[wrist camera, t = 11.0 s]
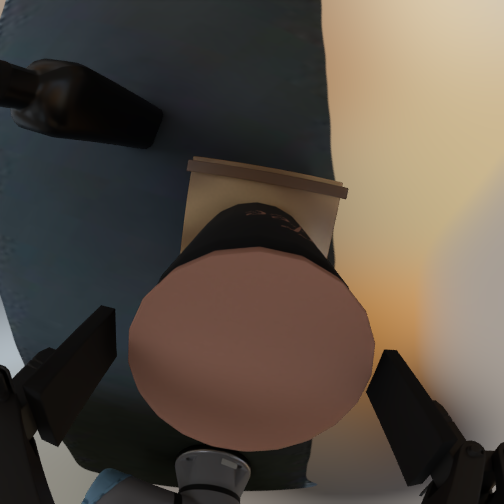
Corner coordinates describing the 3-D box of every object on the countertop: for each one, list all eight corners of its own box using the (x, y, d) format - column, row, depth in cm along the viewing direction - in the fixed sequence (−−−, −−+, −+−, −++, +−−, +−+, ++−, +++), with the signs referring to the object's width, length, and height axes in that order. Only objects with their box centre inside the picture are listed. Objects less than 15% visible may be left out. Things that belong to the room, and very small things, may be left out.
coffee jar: (328, 273, 30) (404, 392, 12) (237, 326, 31) (221, 471, 14) (271, 178, 27) (299, 190, 10) (175, 240, 29) (81, 332, 12)
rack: (275, 399, 46) (279, 455, 34) (176, 384, 46) (158, 437, 34) (329, 181, 37) (360, 186, 26) (200, 158, 37) (176, 153, 25)
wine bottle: (150, 151, 37) (-48, 136, 8) (114, 139, 36) (-84, 122, 7) (166, 110, 35) (-5, 16, 6) (129, 100, 35) (-51, 26, 6)
